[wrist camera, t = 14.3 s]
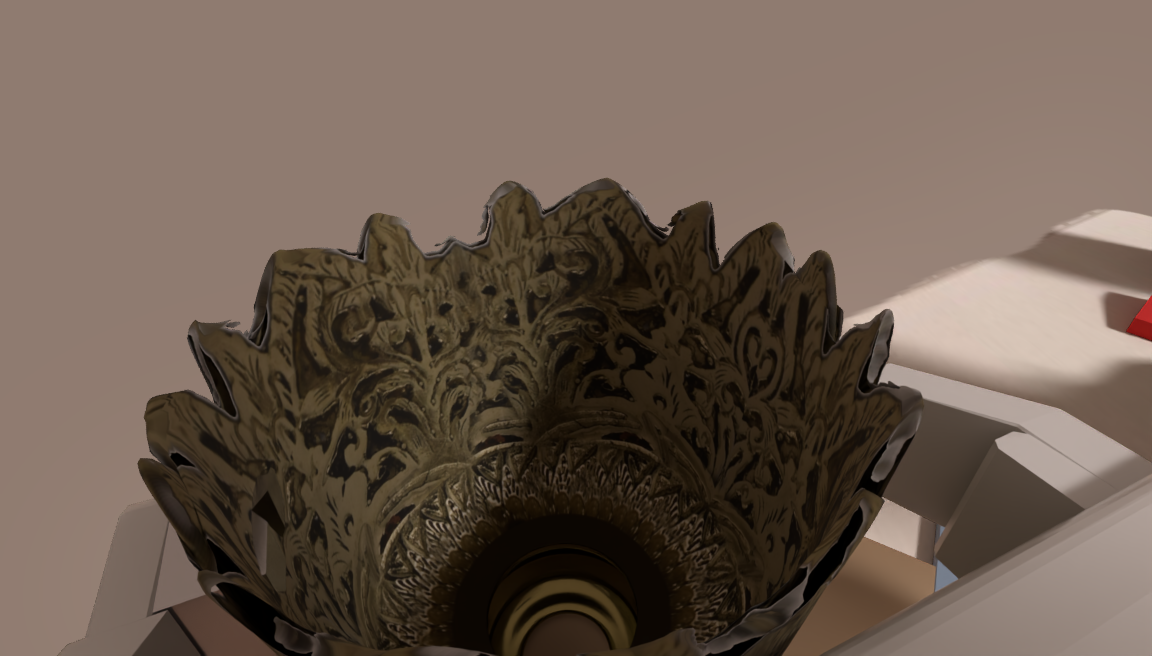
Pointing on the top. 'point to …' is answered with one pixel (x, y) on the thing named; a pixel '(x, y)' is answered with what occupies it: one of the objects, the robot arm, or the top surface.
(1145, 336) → the bracket
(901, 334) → the top surface
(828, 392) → the cup
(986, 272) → the top surface
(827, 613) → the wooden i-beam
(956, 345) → the top surface
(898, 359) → the top surface
